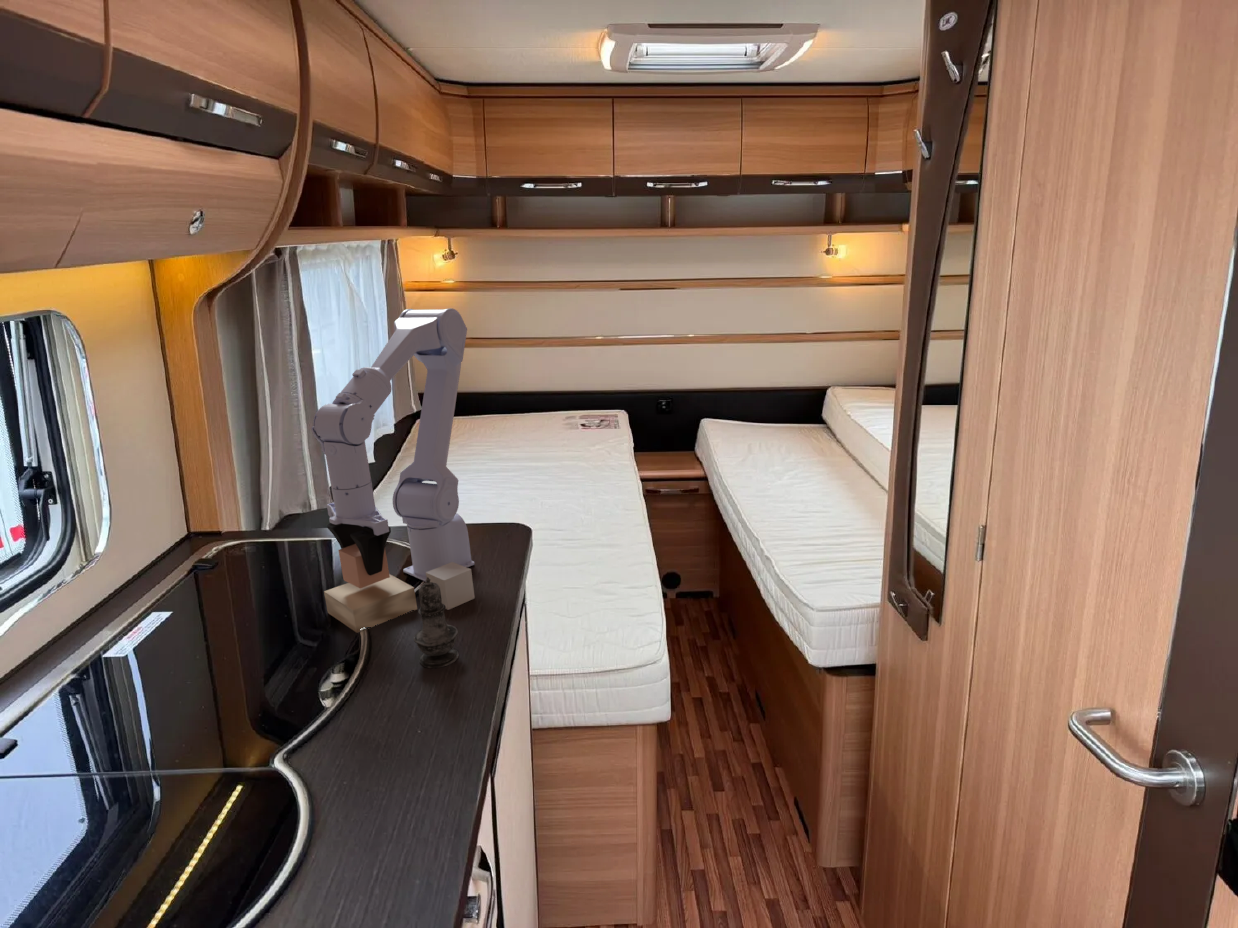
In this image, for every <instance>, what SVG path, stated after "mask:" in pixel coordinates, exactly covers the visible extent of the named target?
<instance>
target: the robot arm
mask: <svg viewBox="0 0 1238 928" xmlns="http://www.w3.org/2000/svg"><path fill="white" fill-rule="evenodd" d="M467 333H468V327H467V326H466V323H465V321H464V319H463V317H462V314H460V312H459V311H458V310H457V309H455V308H449V307H448V308H445V309H441V308H440V309H439V308H438V309H414V308H407V309H406V308H405V309H404V310H402V312H401V313H400V314H399V316H398V317H397V319H395V321H394V322H393V333H392V335H391V336H390V338H389V339H388V341H387V342H386V344H385V346H384V347H383V348H382V350H381V351H380V353H379V354H378V356H377V357H376V358H375V360H374V362H373V364H372V365H371V367H370V366H363V367H361V368H359V369H355V371H354V372H353V373H352V377H351V379H350V380H349V381H348V383H347V384H346V385H345V386H344V387H343V389H342V390H341V391H340V392H339V393H338V394H337V395H336V396H335V399H334V400H333V401H332V402H331V403H327V404H326V403H325V404H324V405H322V406H321V407H320V408H319V409H318V410H317V411H316V413H314V416H313V421H312V424H313V426H311V427H310V429H311V432H312V435H313V437H314V438H315V439H316V440H317V442H318V443H319V444H320V448H321V452H322V453H323V455H325V458H326V465H327V469H328V476H329V481H330V487H331V493H332V499H333V502H330V503H327V504H326V508H327V514H328V516H329V519H328V520H329V523H328V524H327V525H326V527H327V529H328V530H329V532H330V533H331V534H332V535H333V537H334V538H335V540H336V541H337V543H338V544H339V546H340V549H343V548H345V547H348V546H351V545H354V544H356V545H357V547H358V549H359V551H360V553H361V556H362V559H363V563H364V566H365V569H366V572H367V574H368V575H373V574H376V573H379V572H381V571H382V566H383V557H384V550H386V545H387V542H388V539H389V537H390V534H391V532H392V529H391V526H389V522H388V519H387V518H385V517H384V516H383V515H382V514H381V512H380V511H379V509H378V507H376V503H375V497H374V489H373V483H372V478H371V471H370V465H369V458H368V453H367V447H366V439H368V438H369V437H370V435H371V433H372V425H373V422H374V420H375V414H376V413H377V411H378V410H379V409H380V407H381V406H382V405H383V404H384V402H385V401H386V400H387V398H388V397H389V396H390V394H391V393H392V389H393V388H392V383H391V380H393V378H394V377H395V376H396V375H397V374H398V373H399V372H400V371H401V369H402V368H403V367H405V365H406V364H407V363H408V362H409V361H410V360H411V358H412V357H413V356H414V358H415V359H416V360H417V361H418V362H421V363H422V364H423V365H424V366H425V368H426V377H425V385H424V393H423V399H422V405H421V411H420V418H419V425H418V431H417V438H416V445H415V451H414V458H413V462H412V463H410V465H408V466H406V468H404V469H403V470H402V471H400V474H399V479H398V483H397V485H396V487H395V489H394V491H393V494H392V508H393V511H394V512H395V514H396V515H397V516H398V517H400V518H402V523H403V524H404V525H406V528H407V537H408V542H409V548H410V555H411V562H412V565H410V566H407V567H405V568H403V570H402V571H403V573H404V574H408V575H410V576H412V577H414V578H416V579H419V580H421V581H423V582H425V583H427V582H426V581H425V580H426V579H427V578H426V572H428V571H431V570H433V569H436V568H438V567H441V566H443V565H446V564H448V563H451V562H454V563H456V564H459V565H461V566H464V567H466V568H469V567H471V566H474V565H475V561H473V560H472V554H471V545H470V538H469V532H468V531H469V530H468V527H467V525H466V522H465V520H464V518H463V517H462V516H461V515H460V514H459V513H457V512H458V510H459V505H460V498H459V494H458V493H459V492H458V489H459V488H458V487H459V478H457V476H456V475H455V474H454V473H453V472H452V471H451V470H450V469H449V468H448V467H447V464H448V456H449V451H450V450H449V449H450V442H451V438H452V437H451V436H452V429H453V423H454V417H455V416H454V415H455V410H456V404H457V403H456V402H457V395H458V389H459V383H460V375H461V368H462V362H463V361H464V355H465V354H464V353H465V347H466V346H465V345H466V340H467ZM429 482H433V483H429ZM434 482H435V483H434Z"/></svg>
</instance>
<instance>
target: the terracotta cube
mask: <svg viewBox="0 0 1238 928" xmlns="http://www.w3.org/2000/svg"><path fill="white" fill-rule="evenodd" d="M337 552H338V556H339V562H340V567H341V573H342V578H343V581H344V582H346V583H350V584H352V585H354V586H356V587H358V588H360V589H361V588H363V587H366V586H368V585H371V584H373V583H376V582H379V581H381V580H384V579H386V578H389V577H390V576H389V574H390V571H389V565H388V564H389V563H388V557H387V551H386V549H385V550H384V557H383V566H382V571H381V572H379V573H376V574H373V575H368V574H367V572H366V569H365V566H364V563H363V559H362V556H361V553H360V551H359V549H358V547H357V545H356V544H354V545H351V546H348V547H345V548H343V549H341V548H340V549H338V551H337Z"/></svg>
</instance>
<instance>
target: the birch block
mask: <svg viewBox="0 0 1238 928" xmlns="http://www.w3.org/2000/svg"><path fill="white" fill-rule="evenodd" d="M389 576H390V577H389V578H386V579H384V580H381V581H379V582H376V583H373V584H371V585H368V586H366V587H363V588H361V589H360V588H358V587H356V586H354V585H352V584H350V583H348V582H346V583H344V584H340V585H338V586H335V587H333V588H329V589H327V590H324V591H323V593H324V594H323V595H324V600H325V605H326V610H327V613H328V614H329V615H330V616H332V617H333V618H335V620H338V621H339V622H341V623H342V624H343V625H345V626H346V627H348V628H349V629H350V630H352V631H353V632H355V633H356V634H358V633H361V632H360V629H361V628H363V627H365V628H366V627H371V628H373V627H375V625H376V626H378V625H380V624H383V623H386V622H388V620H389V621H390V619H391V620H394V619H396V618H399V617H400V615H401V616H403V614H404V615H406V614H408V613H407V612H409V611H411V610H414V611H416V610H418V606H417V599H416V592H415V587H414V586H412V585H411V584H409V583H407V582H405V581H403V580H401V579H399V577H398V578H397V577H396V576H394V575H392V574H390V573H389ZM411 612H412V611H411ZM405 613H406V614H405ZM409 613H410V612H409ZM398 616H399V617H398ZM377 624H378V625H377Z"/></svg>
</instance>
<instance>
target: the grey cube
mask: <svg viewBox="0 0 1238 928" xmlns="http://www.w3.org/2000/svg"><path fill="white" fill-rule="evenodd" d="M472 574H473V573H472V568H469V567H467V568H466V567H464V566H461V565H459V564H456V563H454V562H451V563H448V564H446V565H443V566H441V567H438V568H436V569H433V570H431V571H428V572H426V578H427V577H428V578H429V579H430V582H433V583H436V584H438V585H439V587H440V591H441V598H442V604H444V605H445V606H446V609H445V610H452V609H453V608H454V609H455V607H458V606H460V605H463V604H464V603H465V604H466V603H467V602H469V601H471V600H474V599H475V589H474V583H473V582H474V580H473V575H472Z"/></svg>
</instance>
